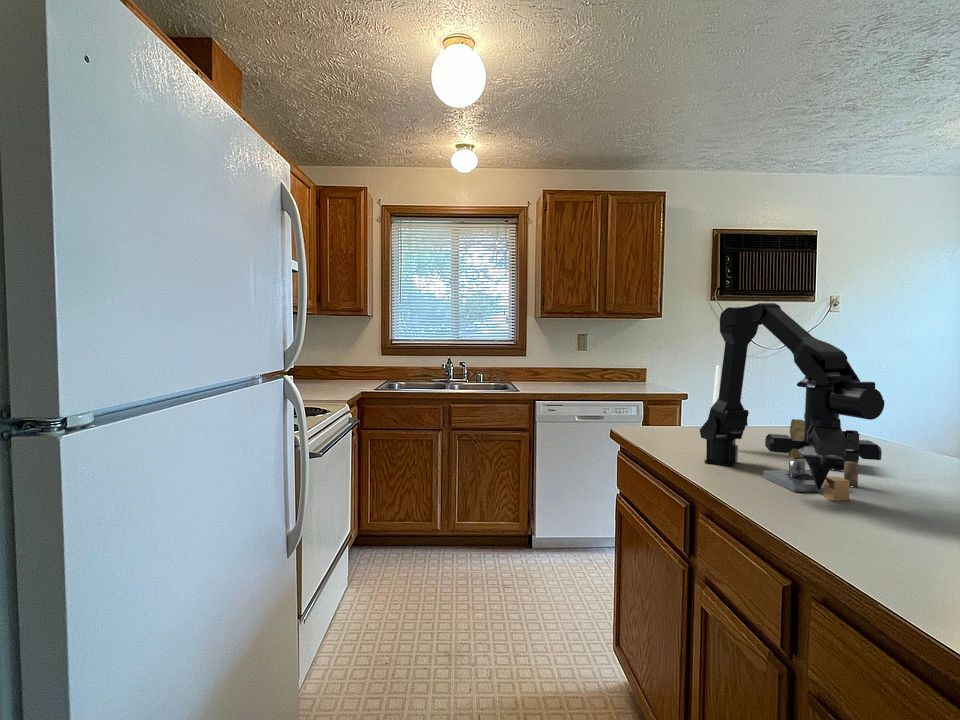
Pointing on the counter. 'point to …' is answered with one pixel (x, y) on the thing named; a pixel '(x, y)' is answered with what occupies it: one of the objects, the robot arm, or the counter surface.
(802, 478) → the post
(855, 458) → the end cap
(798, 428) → the rock
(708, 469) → the counter surface
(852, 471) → the dowel
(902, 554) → the counter surface
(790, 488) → the flange plate
